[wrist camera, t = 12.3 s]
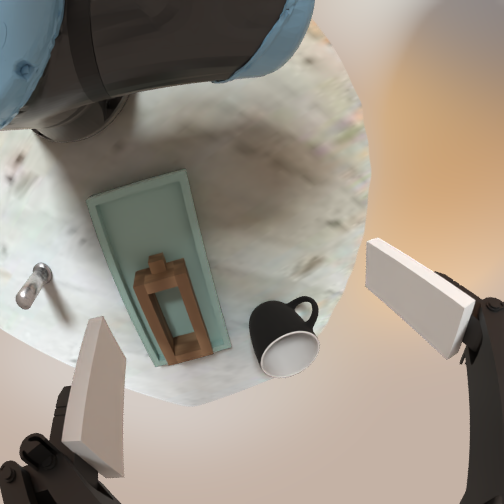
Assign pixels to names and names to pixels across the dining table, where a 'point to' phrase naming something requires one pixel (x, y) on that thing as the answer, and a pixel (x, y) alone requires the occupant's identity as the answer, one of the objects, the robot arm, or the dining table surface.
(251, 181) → the dining table surface
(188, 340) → the wooden rectangular frame
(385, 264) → the robot arm
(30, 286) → the silver cylindrical piece
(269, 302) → the mug
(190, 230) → the tray
